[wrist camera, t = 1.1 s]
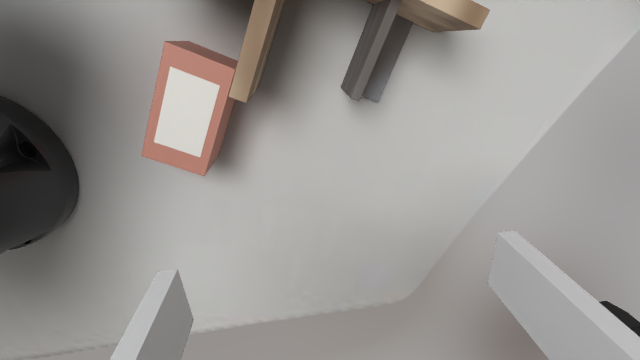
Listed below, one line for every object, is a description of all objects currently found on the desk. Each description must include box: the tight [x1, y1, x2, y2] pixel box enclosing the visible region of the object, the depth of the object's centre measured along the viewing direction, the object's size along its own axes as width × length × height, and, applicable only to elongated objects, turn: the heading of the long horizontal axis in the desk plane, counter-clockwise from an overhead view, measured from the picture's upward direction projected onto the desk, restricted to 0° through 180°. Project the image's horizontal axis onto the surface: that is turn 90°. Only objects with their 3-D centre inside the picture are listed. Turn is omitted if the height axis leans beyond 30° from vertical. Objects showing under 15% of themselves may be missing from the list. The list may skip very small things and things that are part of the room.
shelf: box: [229, 0, 490, 103], centre depth 25 cm, size 14×11×8 cm
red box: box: [141, 41, 238, 176], centre depth 27 cm, size 5×9×6 cm, turn 158°
